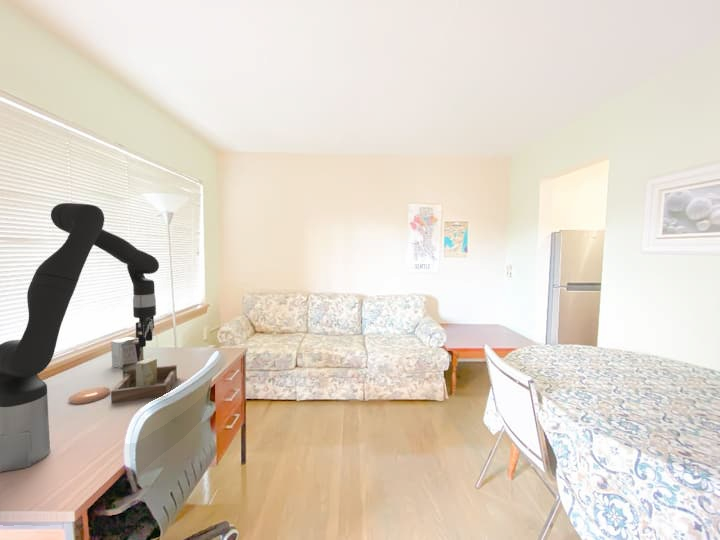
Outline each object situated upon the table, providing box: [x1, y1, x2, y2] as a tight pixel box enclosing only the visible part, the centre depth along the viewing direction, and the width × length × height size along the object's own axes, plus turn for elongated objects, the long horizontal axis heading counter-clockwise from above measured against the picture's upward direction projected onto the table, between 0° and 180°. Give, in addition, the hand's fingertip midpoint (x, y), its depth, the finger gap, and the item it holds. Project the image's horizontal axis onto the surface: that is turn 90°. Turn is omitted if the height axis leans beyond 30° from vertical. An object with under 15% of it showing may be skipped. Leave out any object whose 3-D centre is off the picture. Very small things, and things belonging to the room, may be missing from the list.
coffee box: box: [122, 338, 145, 380], centre depth 137 cm, size 9×6×16 cm
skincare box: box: [135, 357, 158, 387], centre depth 124 cm, size 6×4×12 cm
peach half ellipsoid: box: [68, 386, 111, 405], centre depth 117 cm, size 12×12×1 cm
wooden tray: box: [110, 364, 178, 404], centre depth 124 cm, size 18×18×6 cm
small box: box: [110, 336, 137, 369], centre depth 150 cm, size 8×6×13 cm
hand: (145, 343), depth 123 cm, fingers open, 8 cm apart
